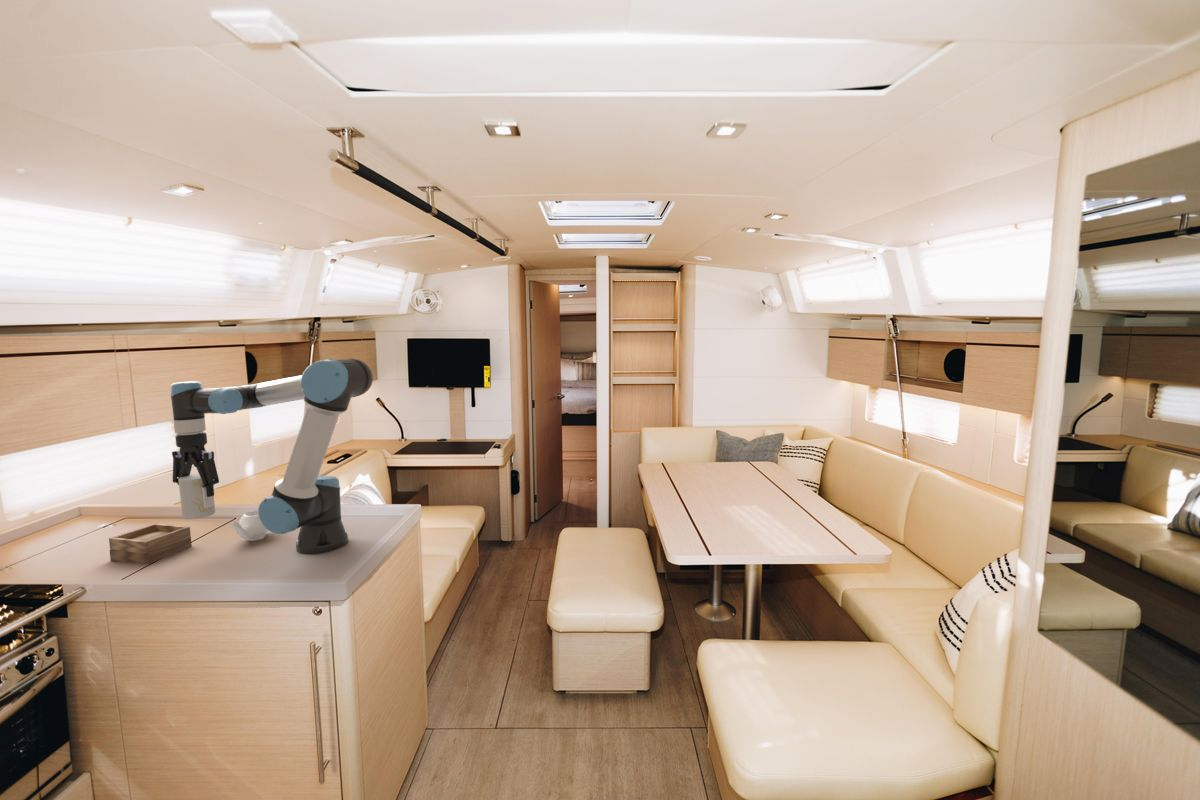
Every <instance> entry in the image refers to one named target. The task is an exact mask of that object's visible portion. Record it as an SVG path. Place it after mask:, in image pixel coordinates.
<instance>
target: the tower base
mask: <svg viewBox="0 0 1200 800" xmlns="http://www.w3.org/2000/svg"><path fill="white" fill-rule="evenodd" d="M192 545H193V544H192V537H190V538H187V539H184V540H182V541H179V542H176V543H173V544H171V545H168V546H165V547H162V548H160V549H157V550H154V551H151V552H149V553H137V552H128V551H119V550H110V549H109V559H110V562H121V563H134V564H135V563H137V564H151V563H154V562H157V561H159V560H162V559H164V558H166V557H170V556H171V555H173V554H176V553H178V552H180V551H183V550H185V549H189V548H190V547H192Z"/></svg>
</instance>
